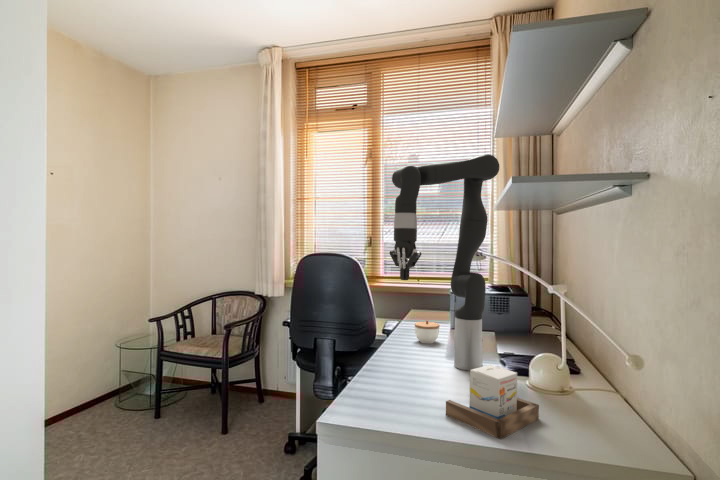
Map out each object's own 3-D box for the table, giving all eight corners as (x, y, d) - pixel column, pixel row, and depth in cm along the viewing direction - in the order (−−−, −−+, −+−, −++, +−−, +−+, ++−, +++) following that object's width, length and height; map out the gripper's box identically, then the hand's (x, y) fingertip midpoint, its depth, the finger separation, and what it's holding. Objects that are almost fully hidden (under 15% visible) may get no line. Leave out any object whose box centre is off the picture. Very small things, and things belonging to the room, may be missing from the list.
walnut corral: (484, 399, 113) (484, 386, 113) (538, 418, 100) (538, 404, 100) (445, 415, 102) (445, 401, 102) (500, 439, 90) (501, 423, 90)
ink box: (497, 428, 95) (498, 378, 95) (468, 415, 102) (468, 369, 102) (517, 418, 100) (518, 371, 100) (488, 407, 107) (489, 363, 107)
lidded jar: (432, 338, 182) (432, 317, 182) (443, 344, 172) (444, 322, 172) (410, 339, 179) (410, 318, 179) (420, 345, 169) (420, 323, 169)
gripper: (428, 227, 130) (427, 281, 130) (399, 227, 140) (398, 277, 140) (412, 226, 125) (411, 282, 125) (383, 227, 135) (382, 278, 135)
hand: (404, 279), depth 132 cm, fingers closed
